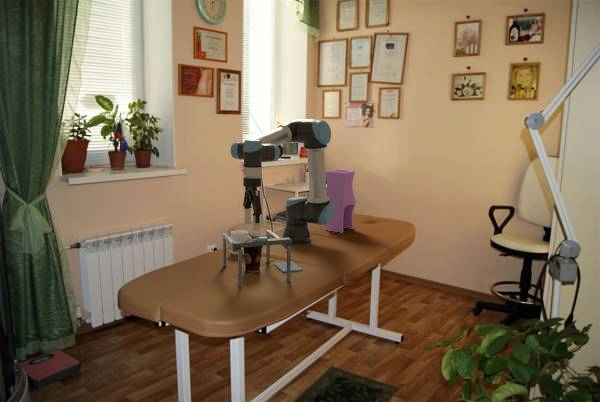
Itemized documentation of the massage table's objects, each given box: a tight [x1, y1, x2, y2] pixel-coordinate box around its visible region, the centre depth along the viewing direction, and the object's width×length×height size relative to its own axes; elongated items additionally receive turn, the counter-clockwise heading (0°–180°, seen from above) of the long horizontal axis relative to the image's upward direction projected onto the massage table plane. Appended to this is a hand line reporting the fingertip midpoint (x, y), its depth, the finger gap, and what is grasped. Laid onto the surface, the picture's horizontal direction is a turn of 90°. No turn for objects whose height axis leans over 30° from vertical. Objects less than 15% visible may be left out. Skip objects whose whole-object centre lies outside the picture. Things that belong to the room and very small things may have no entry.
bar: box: [230, 236, 293, 252], centre depth 192 cm, size 3×24×5 cm, turn 112°
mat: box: [273, 261, 303, 273], centre depth 213 cm, size 12×9×1 cm
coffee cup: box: [243, 239, 264, 273], centre depth 207 cm, size 9×8×13 cm
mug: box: [230, 229, 254, 256], centre depth 233 cm, size 12×8×10 cm
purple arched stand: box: [323, 168, 356, 234], centre depth 282 cm, size 14×14×35 cm
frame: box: [222, 229, 292, 288], centre depth 202 cm, size 28×22×15 cm
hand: (251, 227), depth 204 cm, fingers open, 13 cm apart
